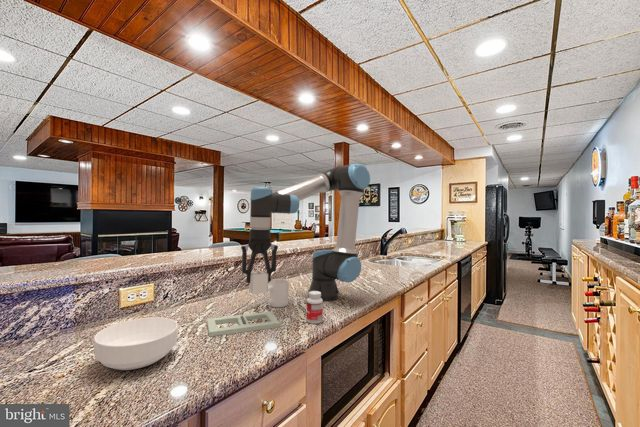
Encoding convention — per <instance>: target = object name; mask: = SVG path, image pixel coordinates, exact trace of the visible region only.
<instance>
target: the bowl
mask: <svg viewBox="0 0 640 427" xmlns="http://www.w3.org/2000/svg"><path fill="white" fill-rule="evenodd" d="M178 333H179V324H178V322H177V321H176V320H174V319H171V318H169V317H168V318H167V317H158V316H157V317H153V316H152V317H142V318H134V319H129V320H125V321H121V322H118V323H114V324H112V325H109V326H107V327H105V328H103V329H101V330H100V331H98V332H97V333H96V334H95V335H94V338H93V353H94V359H95V360H96V361H98V362H99V363H101V364H102V366H105V367H106V368H111V369H113V370H116V371H117V370H118V371H131V370H137V369H141V368H144V367H148V366H150V365H153V364H154V363H156V362H158V361H160V360H162V359H163V357H166V356H167V355H168V354H169V353H170V352H171V350H172V348H174V347H175V346H176V344H177V342H178Z"/></svg>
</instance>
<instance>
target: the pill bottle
mask: <svg viewBox="0 0 640 427" xmlns="http://www.w3.org/2000/svg"><path fill="white" fill-rule="evenodd" d="M308 292H309V291H308ZM320 297H321V292H319V291H310V292H309V296H308V298H307V299H306V317H305V318H306V322H307V323H308V324H312V325H315V324H317V325H318V324H320V323H322V322H323V310H324V309H323V306H324V305H323V303H324V302H323V300H322V298H320Z"/></svg>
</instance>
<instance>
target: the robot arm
mask: <svg viewBox="0 0 640 427" xmlns="http://www.w3.org/2000/svg"><path fill="white" fill-rule="evenodd" d="M370 183H371V174H370V171H369V170H368V169H367V167H366V166H365V165H364V164H362V163H351V164H345V165H339V166H335V167H332V168H330V169H328V170H325V171H323V172H321V173H318V174H317V175H316V177H313V178H310V179H308V180H305V181H302V182H300V183H299V182H298V183H296V184H293V185H290V186H288V187H286V188H283V189H280V190H278V191H277V190H276V191H275V192H273V191H272V188H271V187H266V186H265V187H264V186H255V187H254V186H253V187H252V188H251V191H250V198H249V200H250V209H249V210H250V217H249V218H250V220H249V227H250V229H249V239H248V240H249V241H248V243H247V244H244V245H241V246H240V249H241V252H242V253H241V255H242V256H241V273H243V274H245V275H246V283H247V284H249V285H248V292H249V293H250V294H252V287H253V274H252V273H251V272H253V271H252V270H253V268H254V264H255V261H256V257H257V255H260V254H261V255H262V257H263V262H264V266H265V270H266V272H265V273H266V274H267V291H268V287H269V282H270V281H271V280H272V273H273V272H276V271H277V250H278V248H279V246H278V245H277V244H272V242H271V230H270V229H271V223H272V222H271V220H272V219H271V217H272V214H288V215H290V214H295V213H296V214H297V212H298V211H299V210H300V201H302V200H305V199H307V198H310V197H313V196H316V195H317V194H320V193H324V194H325V193H328V192H330V191H338V193H339V195H340V206H339V216H338V223H337V224H338V226H337V234H336V235H337V236H336V243H335V247H334V248H333V249H320V250H314V251H313V253H312V266H311V267H312V268H311V269H312V270H311V272H312V275H311V277H312V278H311V284H310V286H309V289H308V293H307V296H308V297H309V292H310V291H319V292H321V297H320V298H322V300H323V301H324V302H325V301H333V300H337V299H339V297H340V292H339V288H338V284H337V281H339V282H345V283H351V282H354V281H355V280H356V279H357V278H359V276H360V275H361V272H362V262H361V260H360V259H359V258H358V252H357V250H356V248H355V246H356V238H357V227H358V219H359V208H360V199H361V197H362V196H363V195H364V194H365V193H364V190H365V189H367V188H369V186H370ZM249 249H250V250H251V254H250V258H249V262H248V265H247V259H248V258H247V256H248V253H247V252H248V250H249ZM269 249H270V250H271V257H270V258H271V262H270V260H269V257H268V256H269V254H268V250H269ZM268 292H269V291H268Z"/></svg>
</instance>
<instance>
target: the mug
mask: <svg viewBox="0 0 640 427" xmlns="http://www.w3.org/2000/svg"><path fill="white" fill-rule="evenodd" d="M289 288H290V281H289V280H288V279H286V278H274V279H272V278H271V281H270V282H268V291H267V293H264V294H265V295H264V298H265V302H266V304H268V305H269V306H270V307H272V308H285V307H287V306H288V305H289V290H290V289H289ZM267 295H268V299H267Z"/></svg>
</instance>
